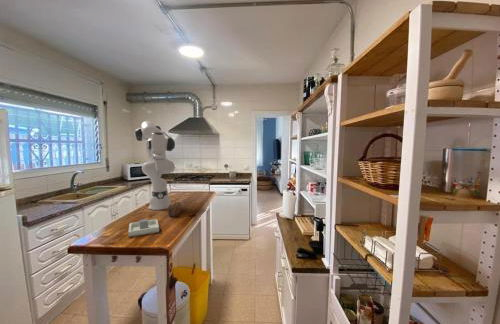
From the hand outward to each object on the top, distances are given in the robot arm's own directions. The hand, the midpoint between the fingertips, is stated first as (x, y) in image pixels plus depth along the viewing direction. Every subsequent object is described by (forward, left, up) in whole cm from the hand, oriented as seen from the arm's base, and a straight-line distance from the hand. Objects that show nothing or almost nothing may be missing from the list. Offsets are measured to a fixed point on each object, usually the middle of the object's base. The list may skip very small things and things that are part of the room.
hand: (159, 176), depth 151 cm
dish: (+16, -11, -31) cm, 36 cm away
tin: (-8, +10, -31) cm, 33 cm away
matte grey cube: (+16, -11, -30) cm, 35 cm away
